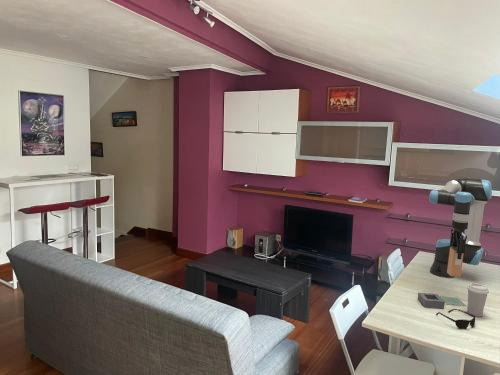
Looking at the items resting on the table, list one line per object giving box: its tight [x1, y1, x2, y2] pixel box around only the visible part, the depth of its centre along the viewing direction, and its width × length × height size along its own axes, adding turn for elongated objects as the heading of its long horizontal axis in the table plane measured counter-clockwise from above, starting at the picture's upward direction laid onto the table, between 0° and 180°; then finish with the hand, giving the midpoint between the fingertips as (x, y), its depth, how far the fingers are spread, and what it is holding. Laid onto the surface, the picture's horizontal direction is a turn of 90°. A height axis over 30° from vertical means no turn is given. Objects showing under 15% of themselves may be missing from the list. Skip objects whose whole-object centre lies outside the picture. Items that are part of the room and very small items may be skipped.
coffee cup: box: [466, 282, 490, 318], centre depth 191 cm, size 10×10×15 cm
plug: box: [447, 247, 464, 278], centre depth 203 cm, size 5×5×15 cm
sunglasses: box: [435, 308, 476, 330], centre depth 184 cm, size 14×16×5 cm
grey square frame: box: [417, 292, 446, 310], centre depth 201 cm, size 10×10×4 cm
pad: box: [439, 295, 467, 307], centre depth 206 cm, size 10×10×1 cm
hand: (455, 262), depth 203 cm, fingers closed on plug, 5 cm apart
